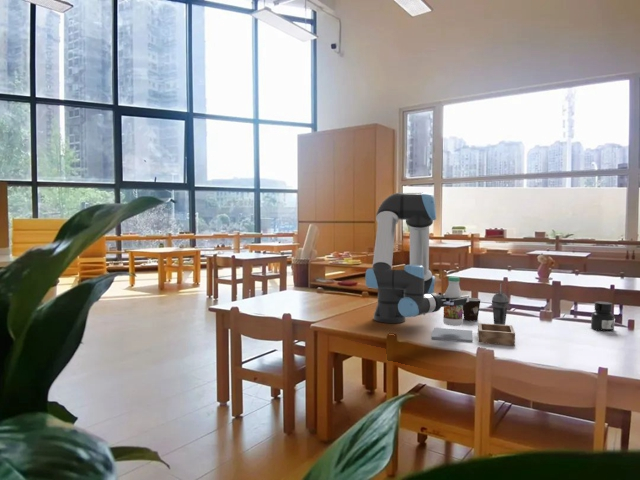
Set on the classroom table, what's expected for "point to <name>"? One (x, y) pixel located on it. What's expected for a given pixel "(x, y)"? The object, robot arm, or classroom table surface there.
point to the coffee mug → (471, 309)
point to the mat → (452, 335)
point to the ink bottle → (602, 316)
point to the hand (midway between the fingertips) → (459, 297)
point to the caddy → (496, 334)
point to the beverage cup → (500, 307)
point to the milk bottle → (455, 313)
